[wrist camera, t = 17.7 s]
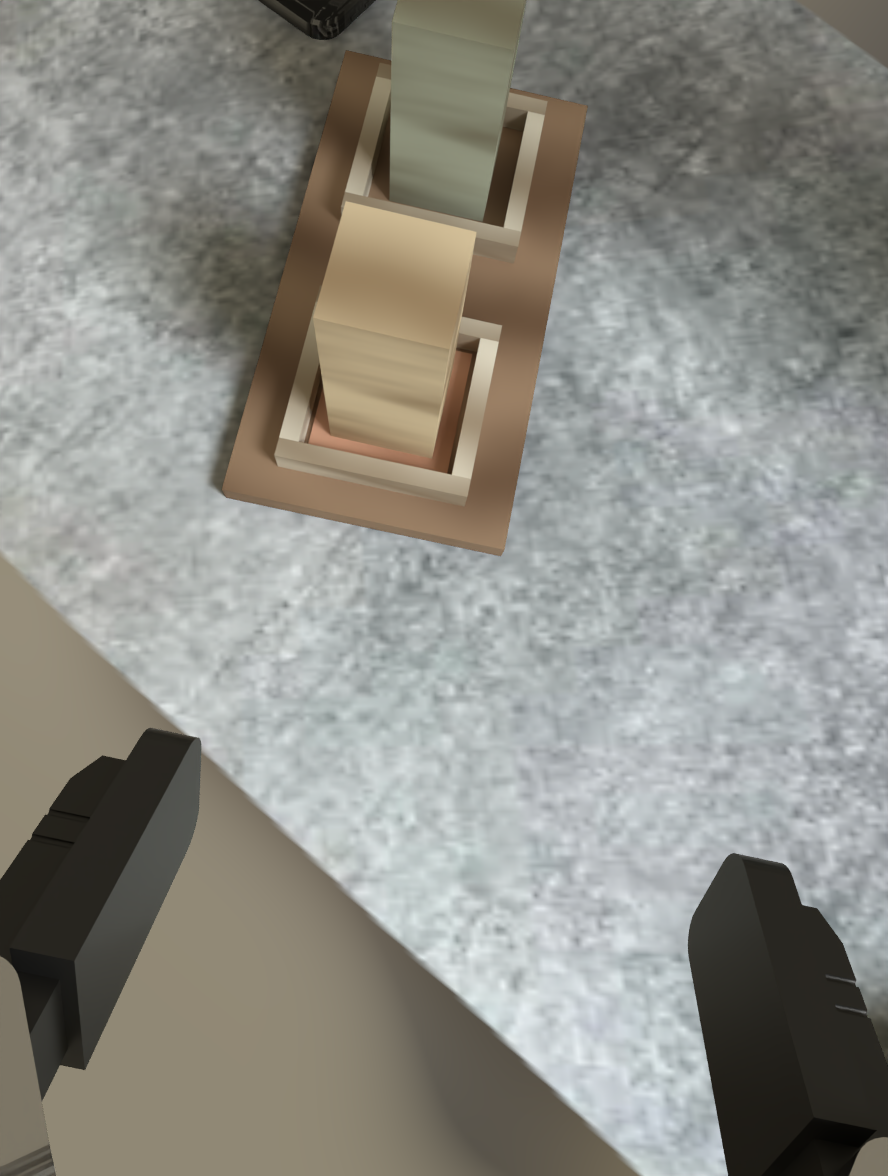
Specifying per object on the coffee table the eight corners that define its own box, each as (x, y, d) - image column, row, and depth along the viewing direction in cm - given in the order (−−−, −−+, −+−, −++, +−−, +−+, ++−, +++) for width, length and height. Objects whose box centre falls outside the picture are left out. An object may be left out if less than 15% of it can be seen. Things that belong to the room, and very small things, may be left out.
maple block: (354, 345, 35) (345, 201, 26) (452, 367, 35) (476, 231, 26) (330, 436, 34) (312, 317, 25) (432, 458, 34) (449, 349, 25)
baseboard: (346, 67, 39) (335, -163, 30) (582, 122, 40) (647, -89, 30) (226, 497, 34) (164, 386, 24) (500, 555, 34) (547, 470, 25)
